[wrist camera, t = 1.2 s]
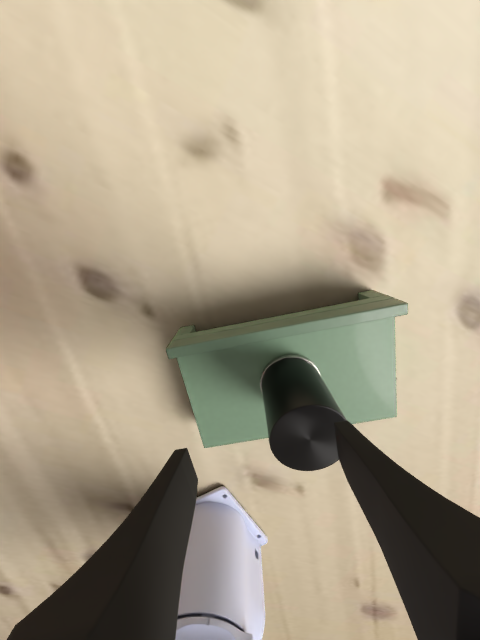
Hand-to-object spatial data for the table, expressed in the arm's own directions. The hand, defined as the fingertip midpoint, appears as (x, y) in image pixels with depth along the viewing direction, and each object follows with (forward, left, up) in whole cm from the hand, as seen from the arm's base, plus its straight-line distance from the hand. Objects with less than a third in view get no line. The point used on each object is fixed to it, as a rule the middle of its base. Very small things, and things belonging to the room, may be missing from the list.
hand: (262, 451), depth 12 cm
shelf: (-2, -2, -10) cm, 11 cm away
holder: (-2, -2, -7) cm, 8 cm away
